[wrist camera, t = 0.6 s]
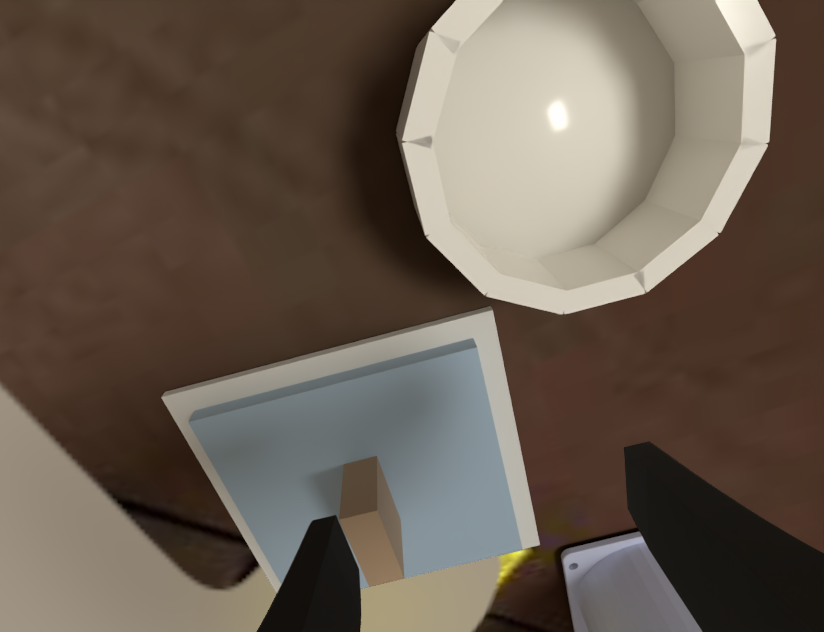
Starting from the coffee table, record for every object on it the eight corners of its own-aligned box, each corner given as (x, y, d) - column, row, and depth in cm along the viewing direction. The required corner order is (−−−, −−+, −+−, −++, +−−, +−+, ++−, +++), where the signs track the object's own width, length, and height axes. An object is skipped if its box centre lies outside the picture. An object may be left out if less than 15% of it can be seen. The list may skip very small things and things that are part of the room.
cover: (518, 536, 24) (541, 608, 21) (295, 590, 25) (282, 669, 21) (473, 337, 19) (494, 389, 16) (194, 410, 20) (156, 476, 16)
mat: (537, 538, 25) (539, 544, 25) (285, 599, 26) (284, 606, 25) (490, 305, 19) (492, 309, 19) (165, 391, 20) (160, 397, 19)
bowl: (685, 231, 18) (760, 263, 15) (437, 296, 19) (452, 343, 15) (682, -84, 14) (788, -146, 11) (364, 10, 15) (361, -20, 11)
